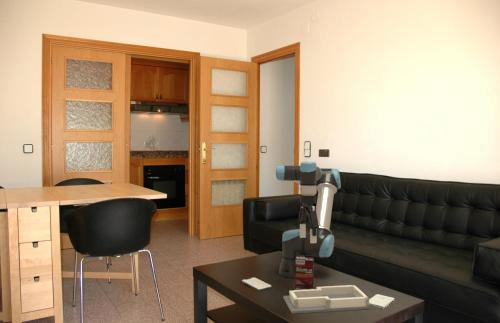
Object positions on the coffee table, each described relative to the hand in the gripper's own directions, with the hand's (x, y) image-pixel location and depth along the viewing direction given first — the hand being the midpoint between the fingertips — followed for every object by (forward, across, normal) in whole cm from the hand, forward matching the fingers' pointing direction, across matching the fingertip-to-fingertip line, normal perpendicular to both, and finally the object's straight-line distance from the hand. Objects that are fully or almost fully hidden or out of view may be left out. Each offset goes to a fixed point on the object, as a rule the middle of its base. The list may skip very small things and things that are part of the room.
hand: (307, 240), depth 186 cm
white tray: (+24, +14, +1) cm, 28 cm away
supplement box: (+24, -1, -1) cm, 24 cm away
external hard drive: (+25, +19, +26) cm, 41 cm away
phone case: (+25, -15, -21) cm, 36 cm away
